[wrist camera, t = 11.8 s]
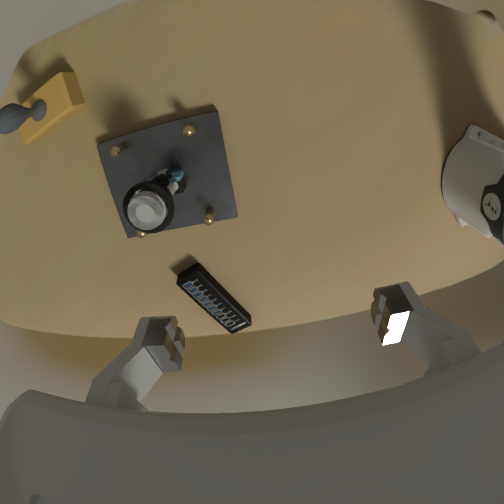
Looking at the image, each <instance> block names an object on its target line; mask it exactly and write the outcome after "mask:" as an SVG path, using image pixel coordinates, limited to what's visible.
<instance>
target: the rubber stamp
mask: <svg viewBox="0 0 504 504" xmlns="http://www.w3.org/2000/svg"><path fill="white" fill-rule="evenodd" d="M85 104H86V103H85V100H84V97H83V95H82V92H81V89H80V86H79V83H78V80H77V77H76V74H75V72H59V73H57V74H56V75H55V76H53V77H52V78H51V79H50V80H48V81H47V82H46V83H45V84H44V85H42V86H41V87H40V88H39V89H38V90H37V91H35V92H34V93H33V94H32V95H31V96H30V97H29V98H28V99H27V100H25V101H24V102H23V103H22V104H21V105H18V104H14V103H11V104H8V105H6V106H4V107H3V108H1V109H0V133H2V134H8V133H11V132H13V131H15V130H16V129H19V132H20V135H21V138H22V140H23V143H24V144H29V143H32V142H34V141H36V140H39V139H40V138H41V137H43V136H44V135H45V134H46V133H48V132H49V131H50V130H51V129H53V128H54V127H55V126H57V125H58V124H59V123H61V122H62V121H64V120H65V119H66V118H68V117H69V116H71V115H72V114H73V113H75V112H76V111H78V110H79V109H81V108H82V107H84V105H85Z"/></svg>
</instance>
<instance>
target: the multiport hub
mask: <svg viewBox="0 0 504 504" xmlns="http://www.w3.org/2000/svg"><path fill="white" fill-rule="evenodd" d="M176 284H177V285H178V286H179V287H180V288H181V289H182V290H183V291H184V292H185V293H186V294H187V295H189V296H190V297H191V298H192V299H193V300H194V301H195V302H196V303H197V304H198V305H199V306H200V307H202V308H203V309H204V310H205V311H206V312H207V313H208V314H209V315H210V316H212V317H213V318H214V319H215V320H216V321H217V322H218V323H219V324H221V325H222V326H223V327H224V328H225V329H226V330H228V331H229V332H230V333H232V334H233V333H236V332H238V331H240V330H242V329H244V328H246V327H248V326H250V325H251V324H252V322H251V315H250V314H249V313H248V312H247V311H246V310H245V309H244V308H243V307H242V306H241V305H240V304H239V303H238V302H237V301H236V300H235V299H234V298H233V297H232V296H231V295H230V294H229V293H228V292H227V291H226V290H225V289H224V288H223V287H222V286H221V285H220V284H219V283H218V282H217V281H216V280H215V279H214V278H213V277H212V276H211V275H210V274H209V273H208V272H207V271H206V269H205V268H204V267H203V266H202V265H201V264H200V263H196V264H194V265H192V266H191V267H189V268H188V269H186V270H185V271H183V272H181V273H180V274H179V275H178V278H177V282H176Z"/></svg>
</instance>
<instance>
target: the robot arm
mask: <svg viewBox="0 0 504 504" xmlns="http://www.w3.org/2000/svg"><path fill="white" fill-rule="evenodd" d="M442 192H443V197H444V200H445V203H446V205H447V206H448V208H449V209H450V210H451V211H452V212H453V213H454V214H455V216H456V220H457V222H458V224H459V225H461V226H466V225H470V226H471V227H473V228H474V229H476V230H477V231H478V232H480V233H481V234H483V235H484V236H486V237H491V236H494V237H495V238H496V239H497V240H498V241H499V242H500V243H501V244H503V245H504V140H502V139H501V138H499V137H497V136H495V135H493V134H492V133H490V132H488V131H486V130H484V129H482V128H480V127H478V126H476V125H474V124H471V125H470V126H469V128H468V129H467V131H466V134H465V136H464V137H463V139H462V140H460V141H459V142H458V143H457V144H456V145H455V146H454V148H453V149H452V151H451V152H450V154H449V156H448V158H447V161H446V164H445V167H444V171H443V177H442ZM373 297H374V299H375V300H374V301H373V302H372V304H371V317H372V321H373V323H374V325H375V326H377V327H378V328H379V329H378V335H379V338H380V340H381V343H382V345H386V344H390V343H394V342H399V341H401V343H402V344H403V345H405V346H406V347H407V348H408V349H409V350H411V351H412V352H413V353H414V354H415V355H417V356H418V357H419V358H420V359H421V360H422V361H424V362H425V363H426V364H427V365H428V366H429V367H428V368H427V370H426V372H425V373H424V375H423V377H421V378H418V379H415V380H412V381H409V382H406V383H402V384H400V385H396V386H393V387H389V388H386V389H382V390H379V391H375V392H371V393H367V394H363V395H359V396H354V397H350V398H345V399H340V400H336V401H331V402H325V403H319V404H313V405H308V406H300V407H293V408H285V409H277V410H267V411H255V412H240V413H169V412H153V411H148V410H147V409H146V408H145V407H144V406H143V405H142V404H141V403H140V402H141V401H142V399H143V398H144V397H145V395H146V394H147V393H148V392H149V390H150V389H151V388H152V386H153V385H154V384H155V382H156V381H157V380H158V379H159V377H160V376H161V375H162V373H163V372H175V371H181V367H182V360H183V358H182V356H181V353H182V352H183V351H184V350H185V336H184V333H183V330H182V329H181V328H180V327H178V326H177V325H178V321H177V319H176V317H175V316H159V317H142V318H141V319H140V320H139V323H138V325H137V328H136V331H135V334H134V337H133V340H132V343H131V346H130V347H127V348H125V350H123V351H122V352H121V353H120V354H119V355H118V356H117V357H116V358H115V359H114V360H113V361H112V362H111V363H110V364H108V365H107V366H106V367H105V368H104V369H103V370H102V371H101V372H100V373H99V374H98V375H97V376H96V377H95V378H94V379H93V380H92V383H91V386H90V389H89V392H88V395H87V398H86V402H81V401H76V400H71V399H67V398H62V397H58V396H54V395H50V394H47V393H43V392H39V391H36V390H32V389H31V390H27V391H26V392H24V393H23V394H21V395H20V396H19V397H18V398H17V399H15V400H14V401H13V402H12V403H11V404H10V405H9V406H8V407H7V409H6V410H5V412H4V414H3V416H2V418H1V420H0V504H504V341H503V342H501V343H499V344H497V345H495V346H493V347H491V348H489V349H487V350H485V351H483V352H481V351H480V349H479V348H478V346H477V344H476V342H475V340H474V339H473V337H472V335H471V334H470V332H469V331H468V330H467V329H465V328H463V327H462V326H460V325H458V324H457V323H455V322H453V321H451V320H450V319H448V318H446V317H444V316H443V315H441V314H439V313H437V312H436V311H434V310H432V309H431V308H429V307H426V308H425V307H424V305H423V304H422V302H421V300H420V299H419V297H418V295H417V294H416V292H415V291H414V289H413V288H412V286H411V285H410V283H409V282H402V283H398V284H393V285H389V286H384V287H379V288H375V290H374V293H373Z"/></svg>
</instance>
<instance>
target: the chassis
mask: <svg viewBox="0 0 504 504" xmlns="http://www.w3.org/2000/svg"><path fill="white" fill-rule="evenodd" d="M97 148H98V152H99V155H100V159H101V162H102V165H103V169H104V172H105V175H106V178H107V181H108V184H109V187H110V190H111V193H112V196H113V199H114V202H115V205H116V208H117V210H118V213H119V216H120V219H121V221H122V224H123V227H124V229H125V232H126V234H127V237H128V238H131V237H135V236H138V237H139V238H143V237H144V236H145V234H150V233H144V232H141V231H139V230H137V229H135V228H134V227H133V226H131V225H130V224H129V222H128V221H127V219H126V218H125V216H124V213H123V199H124V197H125V195H126V193H127V192H128V190H129V189H130V188H131V187H133V186H134V185H136V184H138V183H141V182H144V181H146V180H147V179H148V178H150V177H154V176H157V173H158V172H159V171H160V170H164V169H168V170H167V171H166V174H168V173H172V172H177V171H181V170H183V173H184V177H185V182H186V188H185V190H184V192H183V193H180V194H175V195H173V201H174V206H175V212H174V216H173V219H172V221H171V223H170V224H169V225H168V227H166V228H165V229H164V230H162V231H165V230H170V229H176V228H181V227H186V226H192V225H197V224H203V223H205V224H206V225H211V224H212V223H213V222H214V221H220V220H225V219H231V218H237V217H238V214H237V209H236V204H235V198H234V193H233V188H232V183H231V177H230V172H229V167H228V162H227V156H226V151H225V146H224V140H223V135H222V130H221V124H220V119H219V114H218V111H215V112H210V113H205V114H200V115H195V116H191V117H187V118H183V119H178V120H174V121H171V122H167V123H163V124H159V125H156V126H152V127H149V128H145V129H142V130H139V131H136V132H132V133H129V134H126V135H123V136H120V137H117V138H114V139H112V140H109V141H106V142H103V143H101V144H98V145H97ZM135 194H136V192H135V193H134V195H135ZM167 215H168V208H167V210H166V216H167Z"/></svg>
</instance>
